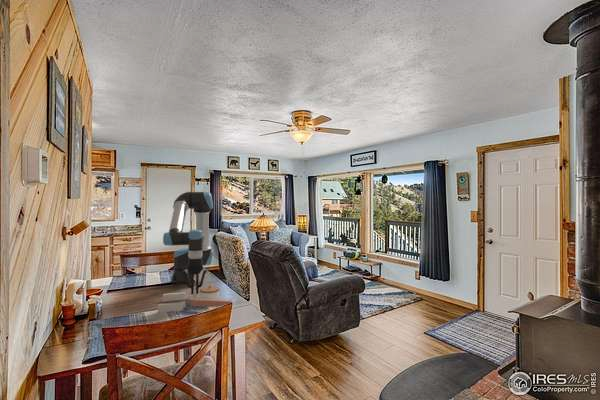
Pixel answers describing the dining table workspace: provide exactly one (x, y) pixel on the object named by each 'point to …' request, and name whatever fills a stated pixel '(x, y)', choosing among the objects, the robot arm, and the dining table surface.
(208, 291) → the lidded jar
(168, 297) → the socket channel
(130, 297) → the dining table surface
